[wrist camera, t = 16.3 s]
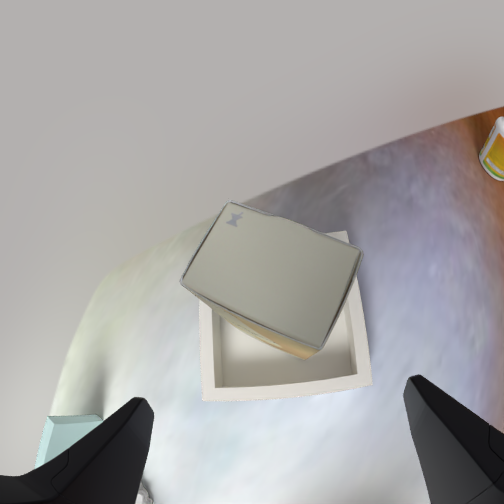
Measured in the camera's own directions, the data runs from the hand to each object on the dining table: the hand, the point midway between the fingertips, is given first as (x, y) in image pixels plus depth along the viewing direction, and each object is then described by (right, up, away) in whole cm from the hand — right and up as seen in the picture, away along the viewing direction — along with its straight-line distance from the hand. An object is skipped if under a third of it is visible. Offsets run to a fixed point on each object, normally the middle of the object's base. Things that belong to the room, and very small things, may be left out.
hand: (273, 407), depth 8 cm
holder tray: (+2, -1, +14) cm, 14 cm away
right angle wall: (-13, -19, +10) cm, 25 cm away
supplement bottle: (+32, +16, +17) cm, 40 cm away
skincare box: (+2, -1, +14) cm, 14 cm away
